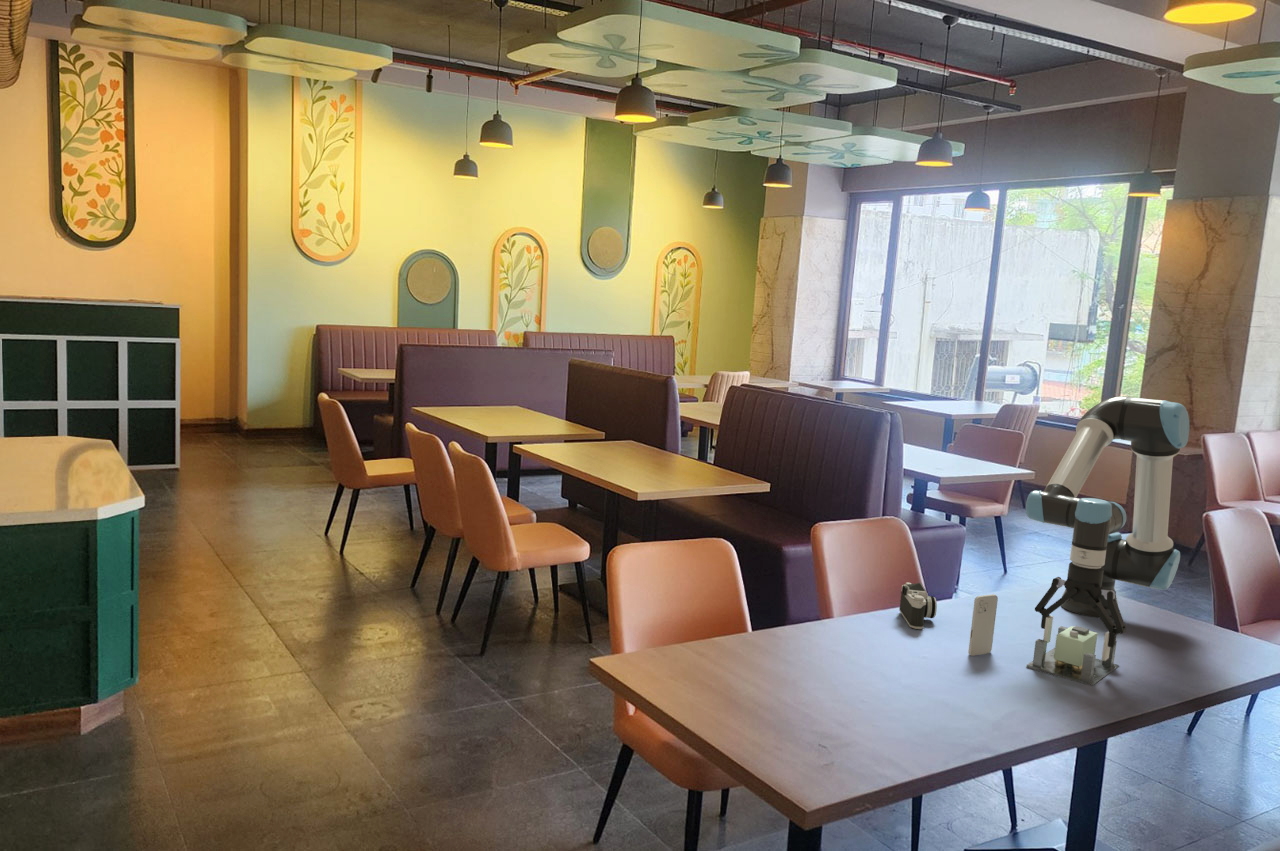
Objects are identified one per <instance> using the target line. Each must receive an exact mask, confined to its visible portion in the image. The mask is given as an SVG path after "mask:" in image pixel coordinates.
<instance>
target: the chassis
mask: <svg viewBox="0 0 1280 851" xmlns="http://www.w3.org/2000/svg"><path fill="white" fill-rule="evenodd" d="M1067 628H1068V627H1067V626H1062V625H1061V626H1059V627H1058V628H1057V629H1058V630H1057V634H1059V633H1061V632H1062V631H1064V630H1066V629H1067ZM1117 642H1118V641H1117V640H1116V643H1115V646H1114V647H1110V653H1109V658H1108V659H1107V660H1106V661H1103V660H1102V659H1099V658H1097V657H1096V656H1097V655H1096V654H1095V655H1094V654H1090V653H1085V654H1084V657H1083V665H1082V666H1080V667H1079V666H1076V665H1072V664H1069V663H1066V662H1062V661H1059V660H1055V659H1054V652H1055V647H1053V648H1052V649H1050V650H1049V651H1047V649H1048V648H1047V647H1048V643H1047V641H1044V640H1043V639H1040V638H1039V639H1036V640H1035V642H1034V643H1035V644H1034V651H1033V659H1032V661H1030V662H1028V663H1027V664H1026V669H1031V670H1034V671H1038V672H1040V671H1041V673H1045V674H1048V673H1049V675H1051V674H1052V676H1056V677H1058V676H1059V678H1062V679H1066V680H1070V681H1073V682H1077V683H1080V684H1085V685H1087V686H1091V687H1093V686H1094V685H1096V684H1097V683H1099V682H1100V681H1101V680H1102V679H1104V678H1105V677H1107V676H1108V675H1109V674H1110V673H1112V672H1113V671H1114V670H1116V669H1117V668H1118V667H1120V665H1119V664H1117V663H1115V657H1116V648H1117Z"/></svg>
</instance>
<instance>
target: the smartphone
mask: <svg viewBox="0 0 1280 851" xmlns="http://www.w3.org/2000/svg"><path fill="white" fill-rule="evenodd" d="M998 599H999V598H998V595H996V594H994V593H993V594H991V593H990V594H985V595H977V596H976V597H975V598H974V601H973V608H972V609H973V611H972V617H971V618H972V620H971V628H970V637H969V643H968V656H972V657H974V656H978V655H979V656H980V655H986V654H990V653H991V652H992V649H993V643H994V642H993V640H994V633H995V625H996V617H997V616H996V615H997V608H998V601H999V600H998Z"/></svg>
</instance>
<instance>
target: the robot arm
mask: <svg viewBox="0 0 1280 851" xmlns="http://www.w3.org/2000/svg"><path fill="white" fill-rule="evenodd" d="M1189 417H1190V416H1189V412H1188V411H1187V408H1186V406H1185V405H1183V404H1181V403H1179V402H1173V401H1169V400H1161V399H1152V398H1142V397H1141V398H1140V397H1130V396H1124V395H1123V396H1115V397H1110V398H1106V399H1105V400H1102V401H1100V402H1099V403H1097V404H1095V405H1093V406H1092V407H1091V408H1090V409H1089V410H1087V411H1086V412H1085V413H1084V414H1083V415H1082V416H1081V418H1080V419H1079V420H1078V422H1077V424H1076V427H1075V432H1076V434H1075V436H1074V437H1073V439H1072V440H1071V443H1070V444H1069V447H1068V448H1067V450H1066V452H1065V453H1064V455H1063V457H1062V459H1061V460H1060V462H1059V464H1058V465H1057V468H1056V469H1055V470H1054V473H1053V474H1052V476H1051V478H1050V480H1049V482H1048V483H1047V485H1046V487H1045V488H1044V490H1043V491H1042V490H1032V491H1030V492H1029V494H1028V495H1027V499H1026V503H1025V514H1026V517H1027V518H1029V519H1031V520H1033V521H1037V522H1041V523H1042V524H1044V523H1045V524H1050V525H1056V526H1059V527H1060V526H1061V527H1067V528H1071V529H1073V532H1072V533H1073V534H1072V540H1071V547H1070V555H1069V561H1070V562H1069V564H1068V569H1067V579H1066V580H1065V579H1062V578H1061V576H1057V577H1055V578H1052V581H1051V584H1050V585H1051V586H1049V589H1048V590H1047V591H1046V593H1045V594H1044V595H1043V597H1042V598H1041V599H1040V601H1039V602H1038V603H1037V604H1036V606H1035V607H1034V611H1035V612H1037V613H1039V614H1040V615H1041V623H1040V628H1041V629H1043V630H1044V631H1043V639H1042V640H1044V641H1047V644H1049V643H1050V642H1051V637H1052V629H1053V622H1054V615H1051V614H1052V613H1053V612H1055V611H1056V610H1057V609H1058V608H1060V607H1062V608H1063V609H1065V610H1067V611H1069V612H1071V613H1074V614H1078V615H1083V616H1085V617H1092V618H1099V620H1101V622H1102V623H1103V625H1104V627H1105V628H1106V630H1107V631H1106V632H1105V633H1104V640H1103V648H1102V653H1101V660H1103V661H1106V660H1107V659H1108V658H1109V653H1110V647H1114V646H1115V643H1116V641H1117V636H1118V634H1120V635H1121V634H1124V633H1126V631H1127V627H1126V624H1125V622H1124V618H1123V615H1122V613H1121V610H1120V608H1119V603H1118V598H1117V592H1116V589H1115V585H1116V581H1120V582H1124V583H1126V584H1127V583H1128V584H1132V585H1137V586H1141V587H1145V588H1148V589H1156V590H1160V591H1161V590H1162V591H1163V590H1167V589H1169V587H1170V586H1171V585H1172V583H1173V581H1174V578H1175V576H1176V574H1177V570H1178V568H1179V564H1180V560H1181V552H1180V550H1178V549H1176V548H1174V541H1173V539H1172V538H1171V537H1169V535H1168V534H1169V533H1168V532H1169V523H1170V522H1169V517H1170V509H1171V508H1170V505H1171V504H1170V503H1171V494H1172V493H1171V492H1172V491H1171V489H1172V476H1173V474H1172V473H1173V463H1174V461H1173V460H1174V457H1176V456H1177V455H1179V454H1180V453H1181V452H1180V451H1181V449H1184V448H1185V447H1186V446H1187V445H1188V441H1189V437H1190V436H1189V434H1190V428H1191V427H1190V418H1189ZM1113 440H1120V441H1127V442H1130V450H1131V451H1132V453H1134V454H1135V455H1136V461H1135V463H1136V464H1135V466H1136V467H1135V480H1134V500H1133V515H1132V516H1133V518H1132V532H1131V533H1129V534H1128V535H1127V536H1126V538H1125V539H1124V538H1123V536H1122V533H1120V532H1119V531H1120V530H1121V529H1122V528H1123V527H1124V526H1125V524H1126V522H1127V513H1126V510H1125V509H1124V507H1123V506H1122V505H1120V504H1119V503H1117V502H1115V501H1108V500H1104V499H1101V498H1094V497H1081V498H1079V497H1078V495H1079V494H1080V491H1081V489H1082V488H1083V487H1084V484H1085V482H1086V481H1087V479H1088V477H1089V476H1090V473H1091V472H1092V470H1093V468H1094V466H1095V464H1096V463H1097V461H1098V459H1099V457H1100V455H1102V452H1103V450H1104V448H1105V447H1107V446H1109V445H1111V444H1112V442H1113ZM1062 587H1064V588H1065V589H1064V592H1063V594H1062V595H1061V597H1060V598H1059V599H1058V600H1056V601H1055V602H1054V603H1053V604H1051V605H1049V606H1048V607H1047V608H1045V607H1046V606H1047V605H1048V603H1049V602H1050V600H1052V598H1053V597H1054V596H1055V594H1056V593H1057V591H1058V590H1059V589H1061V588H1062ZM1116 644H1117V643H1116Z"/></svg>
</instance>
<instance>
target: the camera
mask: <svg viewBox="0 0 1280 851" xmlns="http://www.w3.org/2000/svg"><path fill="white" fill-rule="evenodd" d="M899 603H900V604H899V608H898V610H899V613H900V614H901V616H902V617H903V619H904V620H905V621H906V623H907V625H908V626H909V628H913V629H915V630H916V629H917V630H923V629H924V623H925V618H927V619H928V618H929V619H934V618H935V617H936V615H937V611H938V610H937V607H938V605H937V604H938V603H937V599H936V597H934V595H930V596H929V594H928V591H927V590H926V589H925V587H924V586H923V584H922V583H921V582H917V583H916V582H915V583H911V582H905V584H902V585H901V592H900V601H899Z"/></svg>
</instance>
